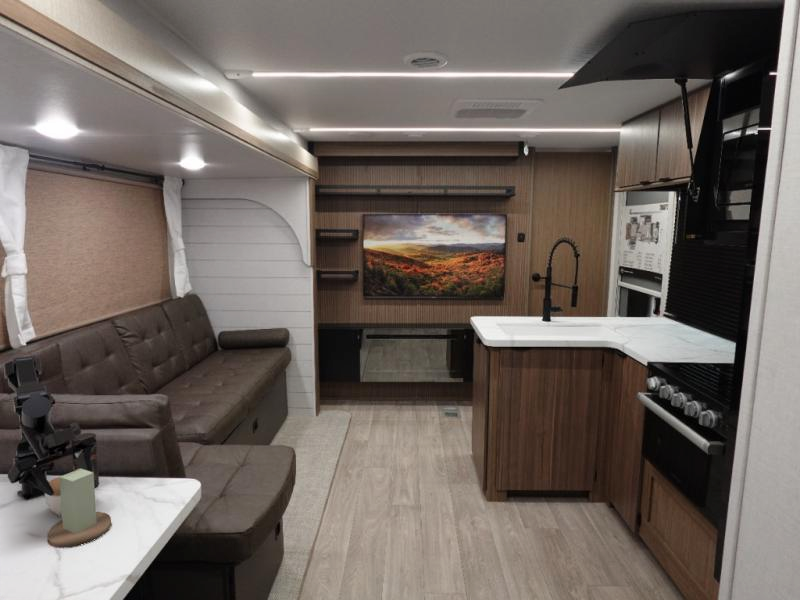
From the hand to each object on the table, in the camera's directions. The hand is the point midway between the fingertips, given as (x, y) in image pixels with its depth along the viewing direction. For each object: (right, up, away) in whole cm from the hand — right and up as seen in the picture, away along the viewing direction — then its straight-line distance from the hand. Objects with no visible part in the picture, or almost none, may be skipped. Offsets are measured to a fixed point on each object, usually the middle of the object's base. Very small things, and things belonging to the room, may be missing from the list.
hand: (72, 486), depth 121 cm
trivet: (+2, -11, 0) cm, 11 cm away
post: (+2, -10, 0) cm, 10 cm away
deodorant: (-11, -9, +23) cm, 26 cm away
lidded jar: (-7, -10, +10) cm, 16 cm away
